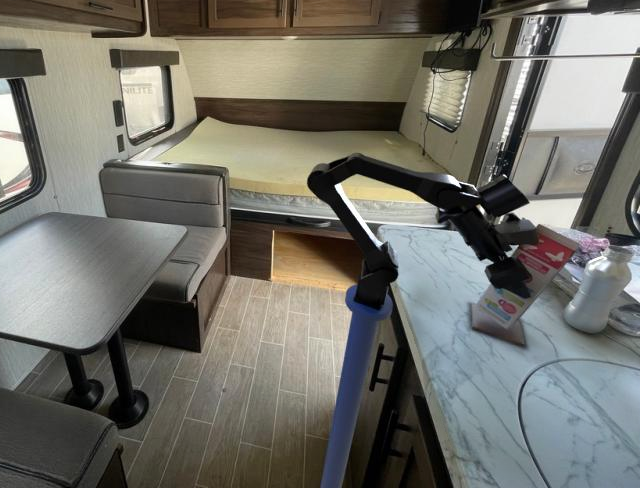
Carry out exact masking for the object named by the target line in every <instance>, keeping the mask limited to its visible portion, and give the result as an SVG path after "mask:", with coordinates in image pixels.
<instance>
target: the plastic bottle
mask: <svg viewBox="0 0 640 488" xmlns="http://www.w3.org/2000/svg"><path fill="white" fill-rule="evenodd" d="M634 254H635V253H634V252H633V251H632V250H629V249H628V248H625V247H622V246H619V245H613V244H609V245H607V246H606V247H605V249H604V250H603V251H602V254H601V255H602V256H598V257H596V258H593V259H591V260H590V261H588V262H587V263H586V264H585V267H584V271H583V275H582V280H581V282H580V285H579V287H578V290H577V292H576V293H575V294H574V296H573V297H572V300H571V301H569V302H568V303H567V305H566V306H565V307H564V308H563V309H564V310H563V315H562V316H563V318H564V320H565V322H566V323H567V324H569V325H570V326H571V327H573V328H575V329H576V330H578V331H581V332H584V333H588V334H598V333H602V331H604V329H606V327H607V326H608V322H609V317H610V313H611V311H612V308H613V305H614V303H616V300H617V299H618V297H619V296H620V294H621V293H622V292H623V291H624V290H625V288H626V287H627V286H628V285H629V284H630V283H631V281H632V280H633V277H632V276H633V274H632V271H631V268H630V267H629V265H628V263H631V261H632V258H633V257H634Z"/></svg>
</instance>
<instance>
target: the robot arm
mask: <svg viewBox="0 0 640 488" xmlns="http://www.w3.org/2000/svg"><path fill="white" fill-rule="evenodd" d="M356 175H358V176H362V177H364V178H368V179H370V180H374V181H377V182H379V183H383V184H385V185H389V186H393V187H395V188H398V189H402V190H405V191H407V192H410V193H411V194H413V195H415V196H417V197H418V198H420V199H421V200H423V201H424V202H426V203H428V204H430V205H432V206H434V207H435V208H436V214H435V215H434V216H435V220H436V223H437V224H439V225H442V224H443V223H445V222H447V221H448V222H450V224H451V225H452V226H453V227H454V229H455V230H456V232H458V234H459V235H460V236H461V238H462V240H463V241H464V243H465V245H466V246H467V247H470V249H471V250H472V251H473V252H474V254H475V256H476V258H477V260H478V261H479V262H482V261H485V260H488V261H490V262H492V263H491V264H487V265H485V269H484V274H485V276H486V278H487V280H488V282H489V283H490V284H492V285H493V287H494V288H495V289H501V288H502V289H505V290H507V291H509V292H512V293H514V294H516V295H518V296H520V297H522V298H524V299H528V298H530V297H531V295H530V293H529V291H528V289H527V286H526V284H525V282H524V280H527V279H530V277H531V276H532V275H531V274H530V273H529V271H528V270H527V268H526V267H525V266H524V264H523V263H522V262H521V261H520V259H519V258H515V257H511V256H509V255H508V254H507V253H508V252H511V251H513V250H514V249H513V248H512V246H513V247H516V246H517V247H518V246H519V245H524V244H537V243H539V239H538V234H537V229H536V226H535V224H534V223H533V222H532V221H531V220H530V219H526V218H525V217H521V218H520V217H519V216H518V215H517V214H516V213H515V212H514V211H516V210H518V209H520V208H522V207H524V206H527V205H530V204H531V202H530V201H529V199H528V198H527V196H526V195H525V194H524V193H523V192H522V190H521V189H519V188H518V187H517V186H516V185H515V184H514V183H513V182H512V180H510V179H509V177H507V175H505V174H502V175H500V176H497V177H496V178H494V179H493V180H492V181H490V182H488V183H486V184H484V185H482V186H480V187H478V188H476V187H475V185H474V184H469V183H465V182H461V181H459V180H457V179H456V178H455V177H454V176H452V175H450V174H445V173H439V172H431V171H428V172H427V171H426V172H423V171H415V170H412V169H409V168H405V167H402V166H399V165H396V164H393V163H389V162H386V161H383V160H380V159H378V158H373V157H370V156H367V155H364V154H363V153H362V152H352V153H351V154H348V155H347V156H345V157H341V158H338V159H335V160H332V161H330V162H328V163H324V162H322V163H318V164H316V165H315V166H314V167H313V168H312V169H311V171H310V173H309V175H308V176H307V180H306V186H307V189H309V191H310V192H311V193H312V194H313V195H314V196H315V197H316V198H317V199H319V200H320V201H321V202H323V203H324V204H326V205H328V207H330V209H331V211H332V212H333V213H334V215H336V217H337V219H338V220H339V221H340V222H341V224H342V225H343V227H344V228H345V229H346V231H347V233H349V236H350V237H351V238H352V239H353V241H354V242H355V244H356V245H357V246H358V247H359V249H360V250H361V252H362V255H363V257H364V259H363V260H362V262H361V271H360V273H359V276H358V278H357V283H356V284H357V289H356V294H355V296H354V298H353V301H355V302H357V303H360V304H362V305H365V306H368V307H370V308H373V309H376V310H378V311H379V310H380V309H381V306H382V305H384V303H385V300H386V296H387V294H388V292H389V289H390V288H389V285H390V284H392V283H394V282H396V281H397V279H398V278H399V268H400V267H399V257H398V252H397V251H396V250H395V249H394V248H393V247H392V245H391V243H390V241H389V240H386V241H385V242H381V241H380V240H379V239H378V238H377V237H376V236H375V234H374V233H373V232H372V231H371V229H370V228H369V226H368V225H367V223H366V222H365V221H364V219H363V218H362V216H361V215H360V214H359V212H358V211H357V210H356V208H355V206H354V205H353V204H352V202H351V201H350V200H349V198H348V197H347V196H346V194H345V192H344V190H343V186H342V184H341V183H343V182H344V181H347V180H348V179H350V178H351V177H354V176H356ZM478 206H480V207H481V208H482V209H483V210H484V212H485V213H486V214H487V216H489V217H490V216H493V217H494V218H495V219H496V218H500V217H502V220H500V221H499V222H500V223H496V224H494V223H493V221H492V220H489V219H488V218H487V217H486V216H485V215H484V213H483V212H482V211H481V210H480V209H479V207H478Z"/></svg>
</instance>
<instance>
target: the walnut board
mask: <svg viewBox="0 0 640 488" xmlns="http://www.w3.org/2000/svg"><path fill="white" fill-rule="evenodd" d="M476 303H477V302H476ZM476 303H475V302H471V303H470V313H471V314H470V316H471V317H470V318H471V329H472V330H474V331H477V332H479V333H482V334H485V335H488V336H490V337H493V338H496V339H498V340H502V341H505V342H508V343H510V344H513V345H516V346H517V347H521V348H525V346H526V343H525V338H524V334H523V329H522V324H521V320H520V319H519V320H518V321H517V322H515V323H514V324H513V325H512V326H511V327H510V328H509V329H505V328H504V327H503V326H501V325H500V324H498V323H497V322H496V321H494V320H493V319H492V318H490V317H489V316H487V315H486V314H485V313H483V312H482V311H480V310H479V309H478V308H476V307H475V305H476Z"/></svg>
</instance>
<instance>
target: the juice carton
mask: <svg viewBox="0 0 640 488" xmlns="http://www.w3.org/2000/svg"><path fill="white" fill-rule="evenodd" d="M535 227H536V229H537V234H538V239H539V243H537V244H524V245H517V247H516V248H515V250H514V251H513V253H512V254H511V255H510V257H515V258H519V259H520V261H521V262H522V263H523V264H524V266H525V267H526V268H527V270H528V271H529V273H530V274H531V275H532V276H531V277H530V279H527V280H524V282H525V284H526V286H527V289H528V291H529V293H530V295H531V297H530V298H528V299H524V298H522V297H520V296H518V295H516V294H514V293H512V292H509V291H507V290H505V289H502V288H501V289H495V288H494V287H493V285H492V284H491V283H490V284H489V285H488V287H487V288H486V290H485V291H484V292H483V294H482V295H481V296H480V298H479V299H478V300H477V302H476V305H475V307H476V308H478V309H479V310H480V311H482V312H483V313H485V314H486V315H487V316H489V317H490V318H492V319H493V320H494V321H496V322H497V323H498V324H500V325H501V326H503V327H504V328H505V329H509V328H510V327H511V326H512V325H513V324H514V323H515V322H517V321H518V320H520V319H521V318H522V317H523V316H524V314H525V313H526V312H527V311H528V310H529V308H530V307H531V306H532V305H533V304H534V302H536V300H537V299H538V298H539V297H540V295H541V294H542V293H543V292H544V291H545V289H547V287H548V286H549V285H551V282H552V281H553V280H554V279H555V278H556V276H557V275H559V273H560V272H561V271H562V270H563V268H565V266H566V265H567V264H568V262H569V261H570V260H571V259H572V258H573V257H574V256H575V254H576V251H577V250H578V249H579V247H580V246H581V243H580V242H578V241H576V240H574V239H572V238H570V237H568V236H566V235H564V234H561V233H560V232H557V231H555V230H554V229H551V228H549V227H547V226H545V225H543V224H541V223H538V224H537V225H536V226H535Z"/></svg>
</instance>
